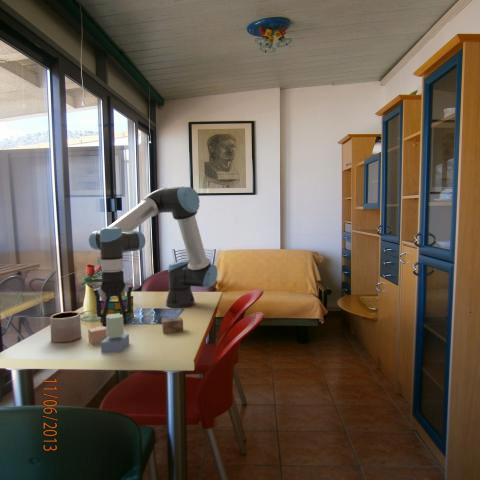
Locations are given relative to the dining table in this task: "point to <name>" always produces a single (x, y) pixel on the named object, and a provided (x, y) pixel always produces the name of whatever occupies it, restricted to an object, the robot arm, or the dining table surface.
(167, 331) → the walnut brick
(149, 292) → the dining table surface
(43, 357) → the dining table surface
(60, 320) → the planter
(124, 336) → the slate brick
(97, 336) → the terracotta brick
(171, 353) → the dining table surface
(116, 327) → the sage brick
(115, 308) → the toy
